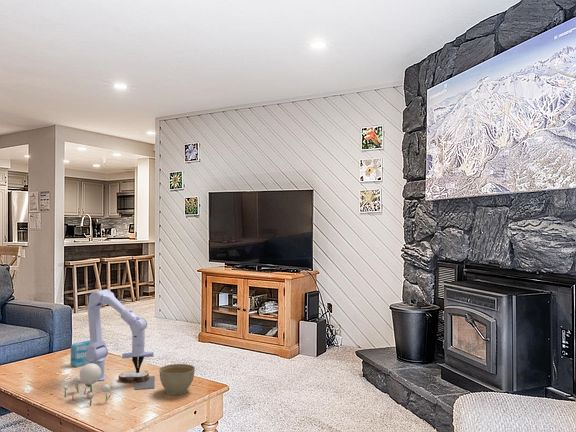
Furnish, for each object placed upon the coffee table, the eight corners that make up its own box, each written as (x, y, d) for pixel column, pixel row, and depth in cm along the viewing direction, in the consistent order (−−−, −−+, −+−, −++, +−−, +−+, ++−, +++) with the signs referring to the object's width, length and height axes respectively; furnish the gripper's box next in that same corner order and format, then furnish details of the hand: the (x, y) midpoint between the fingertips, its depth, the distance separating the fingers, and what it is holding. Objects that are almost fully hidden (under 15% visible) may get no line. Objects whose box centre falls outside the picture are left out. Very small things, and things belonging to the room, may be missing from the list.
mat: (134, 389, 225) (134, 389, 225) (136, 378, 242) (136, 377, 242) (154, 388, 227) (154, 387, 227) (154, 376, 244) (154, 375, 244)
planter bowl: (201, 392, 223) (201, 368, 223) (170, 401, 211) (171, 376, 212) (182, 383, 234) (182, 361, 234) (152, 391, 223) (152, 368, 223)
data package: (74, 367, 257) (75, 345, 258) (70, 366, 260) (70, 344, 260) (95, 363, 267) (95, 341, 267) (90, 361, 270) (91, 340, 270)
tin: (145, 382, 234) (151, 377, 242) (145, 375, 234) (151, 371, 242) (115, 382, 235) (122, 378, 243) (115, 375, 235) (122, 371, 244)
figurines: (117, 401, 211) (117, 366, 211) (93, 409, 201) (94, 373, 201) (82, 389, 224) (83, 357, 225) (58, 397, 215) (59, 362, 215)
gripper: (154, 341, 240) (153, 369, 239) (123, 342, 236) (122, 370, 236) (153, 345, 233) (153, 373, 233) (122, 346, 229) (121, 375, 229)
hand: (137, 372), depth 234 cm, fingers closed
